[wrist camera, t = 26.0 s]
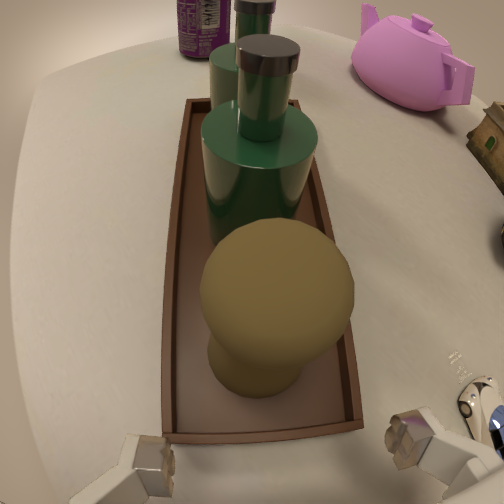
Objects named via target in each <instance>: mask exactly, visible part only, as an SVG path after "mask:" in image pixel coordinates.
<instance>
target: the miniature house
mask: <svg viewBox="0 0 504 504" xmlns="http://www.w3.org/2000/svg"><path fill="white" fill-rule="evenodd" d="M483 111H484V112H485V113H486V116H485V118H484V119H483V121H482V123H481V124H480V125H479V126H478V127H477V128H475V129H474V130H473V131H471V132H469V133H468V134H467V137H468V138H469V139H470V141H468V143H467V144H466V146H467V147H468V149H469V150H470V151H471V152H472V153H473V155H474V156H475V157H476V158H477V160H478V161H479V162H480V163H481V165H482V166H483V167H484V169H485V170H486V171H487V173H488V174H489V175H490V177H491V178H492V179H493V181H494V182H495V183H496V185H497V186H498V188H499V189H500V191H501V192H502V193H503V195H504V103H501V102H496V101H494V102H493V104H492V105H491V107H489V108H487V109H483Z"/></svg>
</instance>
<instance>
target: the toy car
mask: <svg viewBox="0 0 504 504" xmlns="http://www.w3.org/2000/svg"><path fill="white" fill-rule="evenodd" d="M456 352H457V351H456ZM451 354H452V353H451ZM457 354H458V353H457ZM454 355H455V354H454ZM460 355H461V354H460ZM460 355H459V356H460ZM450 357H452V356H450ZM450 357H449V358H450ZM461 357H462V356H461ZM461 357H460V358H461ZM450 359H451V358H450ZM454 360H456V358H455V359H454ZM454 362H455V361H454ZM454 362H452V363H454ZM450 363H451V362H450ZM452 363H451V364H452ZM464 366H465V365H464ZM459 368H460V367H459ZM462 368H463V367H462ZM458 371H459V370H458ZM465 372H466V371H465ZM465 372H464V373H465ZM457 373H458V372H457ZM464 373H463V374H464ZM468 375H469V374H468ZM468 375H467V376H468ZM470 375H471V374H470ZM465 376H466V375H465ZM459 378H460V376H459ZM466 378H467V377H466ZM460 379H461V378H460ZM464 380H465V379H464ZM462 381H463V380H462ZM473 382H474V383H476V382H477V384H478V383H480V382H482V384H483V386H480V388H479V389H478V390H477V388H476V386H477V385H474V384H471V383H473ZM473 382H471V383H470V384H469V385H468V387H467V388H466V389H465V390H464V392H463V393H462V395H461V397H460V399H459V401H462V402H461V403H460V405H459V409H460V412H461V413H462V414H463V415H464V416H467V417H469V416H470V417H469V418H466V420H467V423H468V425H469V427H470V430H471V432H472V434H473V437H474V439H475V441H478V442H480V443H483V444H485V445H488V446H490V447H492V448H493V449H494V450H495V451H496V453H497V454H498V455H499V456H500V458H501V459H502V460H503V461H504V402H503V401H502V399H501V397H500V390H499V386H498V383H497V381H496V379H495V378H493V377H492V376H483V377H479V378H477V379H476V380H474V381H473ZM459 384H460V383H459ZM482 384H481V383H480V385H482Z"/></svg>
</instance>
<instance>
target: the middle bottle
mask: <svg viewBox="0 0 504 504" xmlns="http://www.w3.org/2000/svg"><path fill="white" fill-rule="evenodd" d="M299 56H300V46H299V45H298V44H297V43H296V42H294V41H292V40H290V39H288V38H285V37H281V36H277V35H270V34H254V35H248V36H244V37H242V38H240V39H239V40H238V41H237V43H236V64H237V66H238V67H239V73H238V95H237V99H235V100H231V101H228V102H225V103H223V104H221V105H219V106H217V107H215V108H214V109H213V110H211V111H210V112H209V113H208V114H207V115H206V117H205V118H204V120H203V122H202V125H201V145H202V159H203V173H204V185H205V197H206V209H207V220H208V231H209V235H210V238H211V240H212V242H213V244H214V245H215V246H217V245H218V243H219V242H220V241H221V240H223V239H224V238H225V237H226V236H228V235H229V234H230V233H231V232H233V231H234V230H235V229H237V228H239V227H242V226H244V225H247V224H250V223H252V222H255V221H257V220H261V219H271V218H285V219H291V220H295V219H296V215H297V212H298V208H299V205H300V202H301V198H302V195H303V191H304V188H305V184H306V181H307V177H308V174H309V170H310V167H311V163H312V160H313V156H314V153H315V149H316V145H317V141H318V135H317V131H316V128H315V126H314V124H313V123H312V121H311V120H310V119H309V118H308V117H307V116H306V115H305V114H304V113H303V112H301V111H300V110H298V109H297V108H295V107H293V106H291V105H289V104H288V100H289V94H290V88H291V82H292V76H293V73H294V72H295V71H296V70H297V67H298V62H299Z"/></svg>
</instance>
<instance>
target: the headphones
mask: <svg viewBox="0 0 504 504" xmlns="http://www.w3.org/2000/svg"><path fill="white" fill-rule="evenodd" d="M501 235H502V243H503V247H504V225H503V228H502V232H501Z"/></svg>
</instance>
